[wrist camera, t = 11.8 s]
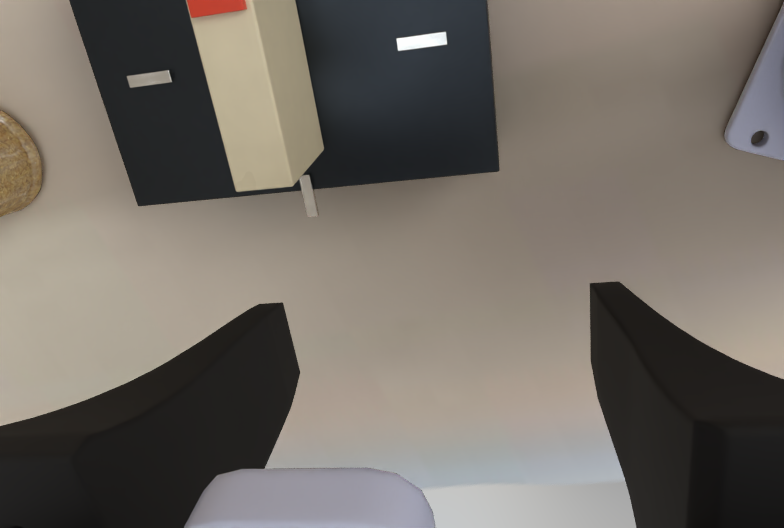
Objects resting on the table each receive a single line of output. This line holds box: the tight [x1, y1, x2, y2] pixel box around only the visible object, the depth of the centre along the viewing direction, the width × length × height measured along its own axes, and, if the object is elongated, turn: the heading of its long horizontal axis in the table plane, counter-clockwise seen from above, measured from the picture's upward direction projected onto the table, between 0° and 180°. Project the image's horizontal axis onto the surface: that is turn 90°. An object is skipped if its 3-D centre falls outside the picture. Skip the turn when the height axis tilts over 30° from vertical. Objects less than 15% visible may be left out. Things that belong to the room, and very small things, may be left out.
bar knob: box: [186, 0, 324, 192], centre depth 16 cm, size 6×2×4 cm, turn 9°
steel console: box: [69, 0, 499, 217], centre depth 20 cm, size 12×10×4 cm
